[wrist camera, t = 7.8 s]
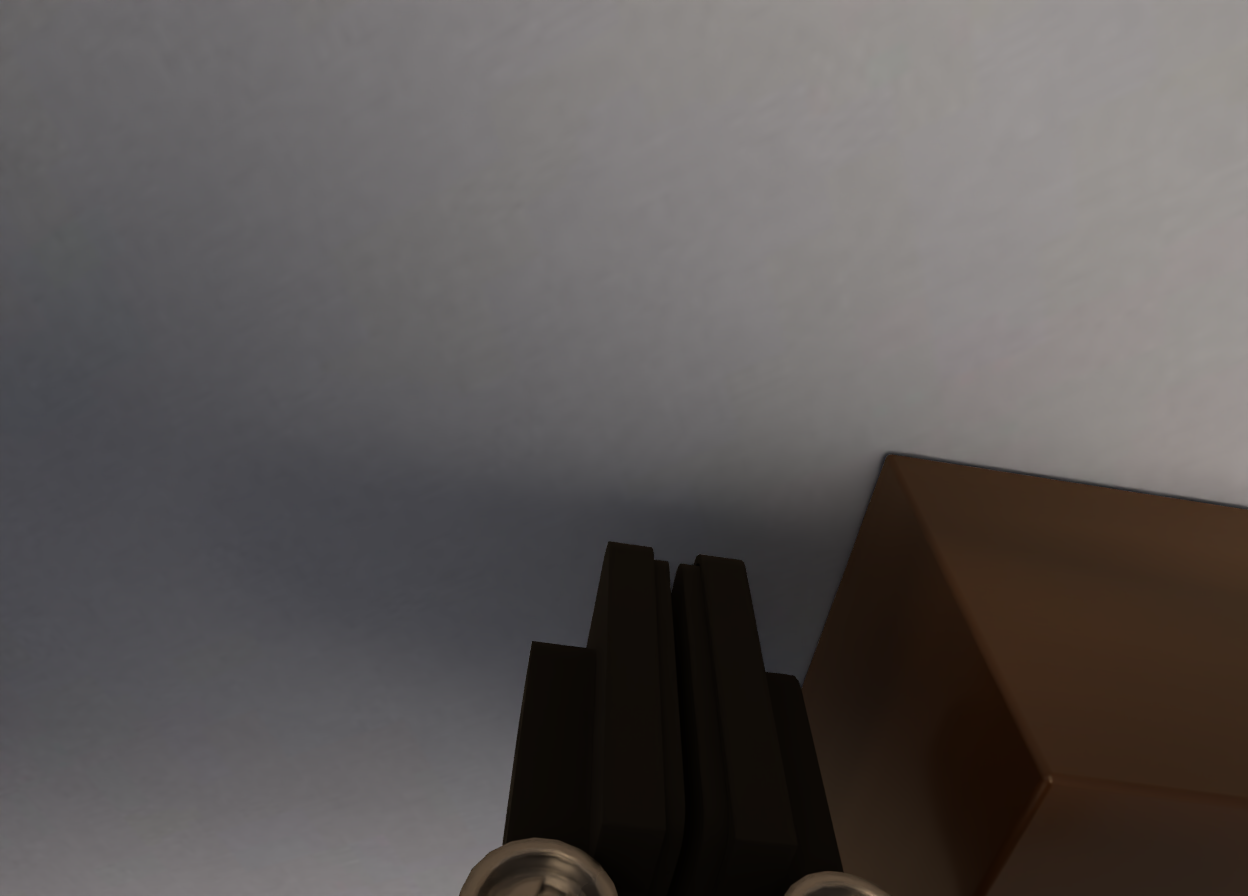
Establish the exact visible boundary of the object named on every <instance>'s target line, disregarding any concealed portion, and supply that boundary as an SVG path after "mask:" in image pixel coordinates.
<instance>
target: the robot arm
mask: <svg viewBox="0 0 1248 896" xmlns="http://www.w3.org/2000/svg"><path fill="white" fill-rule="evenodd" d="M459 896H893V895H891V894H890V893H888V892H887V891H885V890H884V889H882V888H881V887H879V886H878V885H876V884H875V883H873V882H871V881H868V880H866V879H863V878H861V877H858V876H856V875H853V874H851V873H844V871H843V867H842V862H841V858H840V854H839V849H838V845H837V841H836V836H835V832H834V828H833V823H832V819H831V815H830V810H829V806H828V802H827V798H826V793H825V789H824V785H823V780H822V776H821V772H820V767H819V763H818V759H817V754H816V750H815V746H814V741H813V737H812V733H811V729H810V724H809V720H808V716H807V711H806V707H805V703H804V698H803V694H802V690H801V687H800V684H799V681H798V680H797V679H796V677H795V676H794V675H787V674H779V673H772V672H765V668H764V663H763V657H762V652H761V647H760V641H759V636H758V631H757V625H756V620H755V615H754V610H753V604H752V599H751V594H750V588H749V583H748V578H747V572H746V567H745V564H744V562H743V561H742V560H737V559H730V558H723V557H716V556H709V555H702V554H699V555H697V557H696V559H695V561H694V565H688V564H679V566H678V569H677V572H676V576H675V580H674V584H673V588H672V592H671V585H670V571H669V563H668V561H661V560H654V552H653V548H652V547H646V546H639V545H632V544H625V543H618V542H611V541H609V542H608V544H607V547H606V552H605V556H604V561H603V566H602V571H601V576H600V581H599V586H598V591H597V596H596V601H595V606H594V611H593V616H592V621H591V626H590V631H589V636H588V642H587V647H586V648H582V647H574V646H567V645H559V644H552V643H544V642H536V641H532V644H531V650H530V656H529V662H528V668H527V674H526V681H525V687H524V693H523V700H522V706H521V713H520V720H519V727H518V734H517V741H516V748H515V755H514V762H513V770H512V777H511V785H510V792H509V799H508V807H507V814H506V822H505V829H504V837H503V844H502V846H501V847H499V848H497V849H495V850H493V851H491V852H489V853H488V854H487V855H486V856H485V857H484V858H483V859H482V860H481V861H480V862H479V863H478V864H476V865H475V866H474V867H473V868H472V870H471V872H470V874H469V876H468V877H467V879H466V881H465V883H464V885H463V887H462V889H461V891H460V894H459Z"/></svg>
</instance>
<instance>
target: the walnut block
mask: <svg viewBox="0 0 1248 896" xmlns="http://www.w3.org/2000/svg"><path fill="white" fill-rule="evenodd" d="M801 690H802V694H803V698H804V703H805V707H806V711H807V716H808V720H809V724H810V729H811V733H812V737H813V741H814V746H815V750H816V754H817V759H818V763H819V767H820V772H821V776H822V780H823V785H824V789H825V793H826V798H827V802H828V806H829V810H830V815H831V819H832V823H833V828H834V832H835V836H836V841H837V845H838V849H839V854H840V858H841V862H842V867H843V871H844V873H851V874H853V875H856V876H858V877H861V878H863V879H866V880H868V881H871V882H873V883H875V884H876V885H878V886H879V887H881V888H882V889H884V890H885V891H887V892H888V893H890V894H891V895H893V896H1248V510H1246V509H1240V508H1233V507H1227V506H1220V505H1214V504H1208V503H1201V502H1195V501H1188V500H1182V499H1176V498H1169V497H1163V496H1156V495H1150V494H1143V493H1137V492H1131V491H1124V490H1118V489H1111V488H1105V487H1098V486H1092V485H1086V484H1079V483H1073V482H1066V481H1060V480H1053V479H1047V478H1041V477H1034V476H1028V475H1021V474H1015V473H1008V472H1002V471H996V470H989V469H983V468H976V467H970V466H963V465H957V464H951V463H944V462H938V461H931V460H925V459H918V458H912V457H906V456H899V455H893V454H891V455H888V456H887V457H886V459H885V462H884V464H883V467H882V470H881V473H880V475H879V478H878V481H877V484H876V486H875V489H874V492H873V494H872V497H871V500H870V503H869V505H868V508H867V511H866V514H865V516H864V519H863V522H862V525H861V527H860V530H859V533H858V536H857V538H856V541H855V544H854V546H853V549H852V552H851V555H850V557H849V560H848V563H847V566H846V568H845V571H844V574H843V577H842V579H841V582H840V585H839V587H838V590H837V593H836V596H835V598H834V601H833V604H832V607H831V609H830V612H829V615H828V618H827V620H826V623H825V626H824V629H823V631H822V634H821V637H820V639H819V642H818V645H817V648H816V650H815V653H814V656H813V659H812V661H811V664H810V667H809V670H808V672H807V675H806V678H805V680H804V683H803V686H802V689H801Z"/></svg>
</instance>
